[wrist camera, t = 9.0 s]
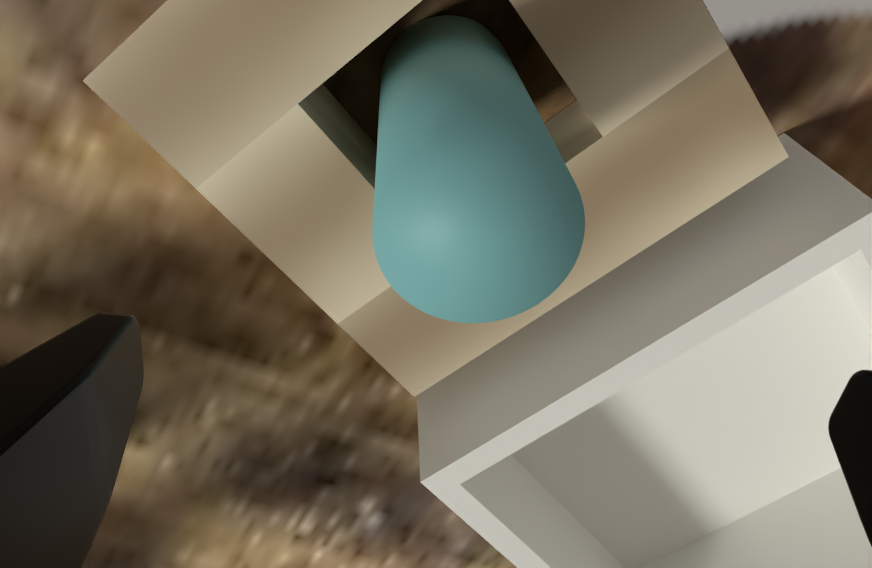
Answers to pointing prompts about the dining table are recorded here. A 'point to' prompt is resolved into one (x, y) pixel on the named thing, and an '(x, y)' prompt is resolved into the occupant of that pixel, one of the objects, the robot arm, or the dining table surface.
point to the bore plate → (356, 153)
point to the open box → (677, 396)
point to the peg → (468, 179)
